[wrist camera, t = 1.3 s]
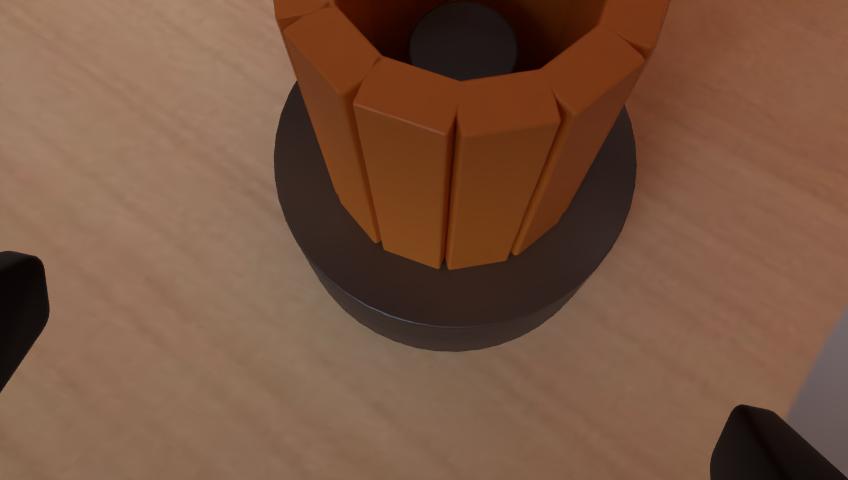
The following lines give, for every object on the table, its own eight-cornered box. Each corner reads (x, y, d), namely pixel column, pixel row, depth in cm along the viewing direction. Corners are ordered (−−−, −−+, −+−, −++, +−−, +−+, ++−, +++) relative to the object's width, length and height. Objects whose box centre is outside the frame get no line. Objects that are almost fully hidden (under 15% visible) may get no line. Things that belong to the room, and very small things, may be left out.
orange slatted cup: (534, 304, 18) (610, 191, 11) (292, 217, 19) (200, 53, 11) (608, 84, 20) (717, -147, 12) (385, 12, 21) (360, -246, 13)
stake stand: (550, 399, 21) (631, 357, 13) (249, 287, 23) (138, 179, 14) (638, 119, 24) (753, -70, 16) (366, 31, 25) (334, -190, 17)
